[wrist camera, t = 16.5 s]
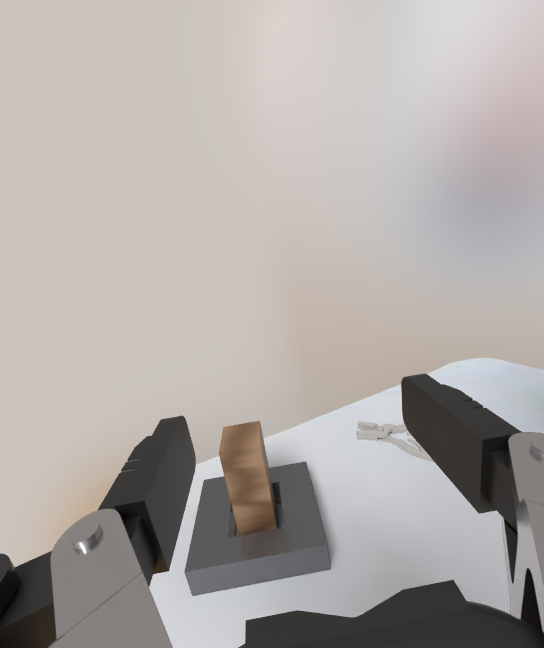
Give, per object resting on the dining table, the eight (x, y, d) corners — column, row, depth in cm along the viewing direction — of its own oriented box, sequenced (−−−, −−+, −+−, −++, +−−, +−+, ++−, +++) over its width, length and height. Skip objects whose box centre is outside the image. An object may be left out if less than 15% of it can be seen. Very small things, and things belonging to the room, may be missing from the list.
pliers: (463, 459, 40) (354, 445, 46) (463, 468, 40) (355, 453, 46) (450, 417, 49) (359, 410, 54) (449, 425, 49) (360, 417, 55)
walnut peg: (276, 509, 38) (259, 420, 34) (279, 543, 34) (260, 445, 30) (244, 515, 38) (223, 427, 34) (242, 550, 34) (218, 452, 30)
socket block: (308, 480, 42) (306, 461, 41) (330, 569, 30) (327, 544, 29) (209, 499, 42) (203, 480, 41) (192, 595, 30) (184, 572, 29)
